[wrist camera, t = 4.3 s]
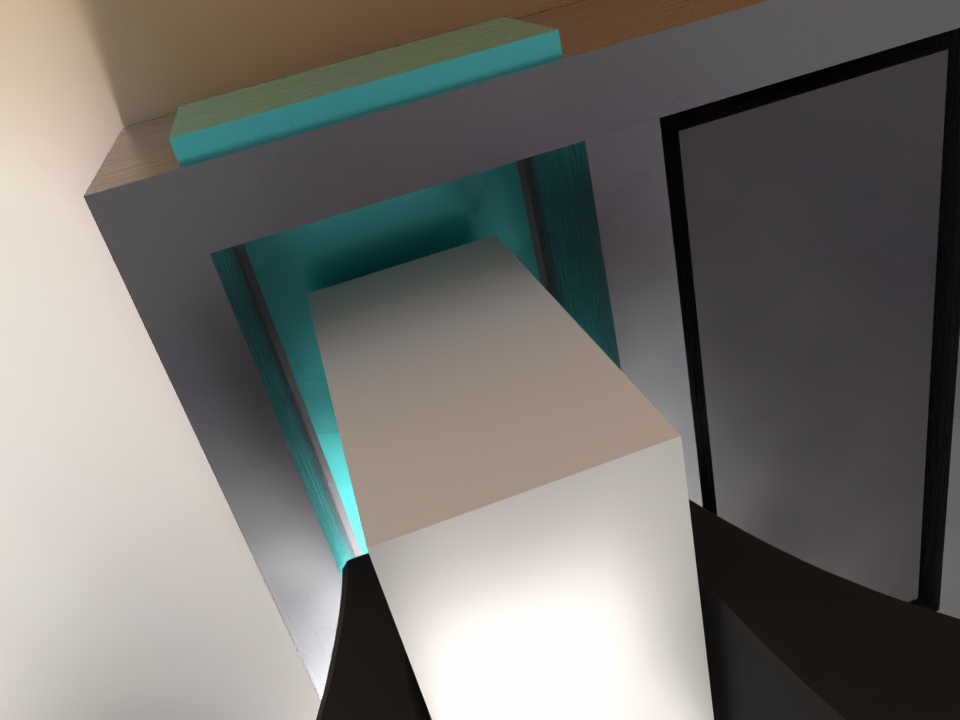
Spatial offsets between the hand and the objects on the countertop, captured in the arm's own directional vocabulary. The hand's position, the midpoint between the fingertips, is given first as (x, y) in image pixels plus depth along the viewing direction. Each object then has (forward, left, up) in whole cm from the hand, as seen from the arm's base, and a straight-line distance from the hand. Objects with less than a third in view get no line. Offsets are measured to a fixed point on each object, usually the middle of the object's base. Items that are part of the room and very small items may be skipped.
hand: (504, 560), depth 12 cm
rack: (-6, 0, -4) cm, 7 cm away
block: (0, 0, -3) cm, 3 cm away
